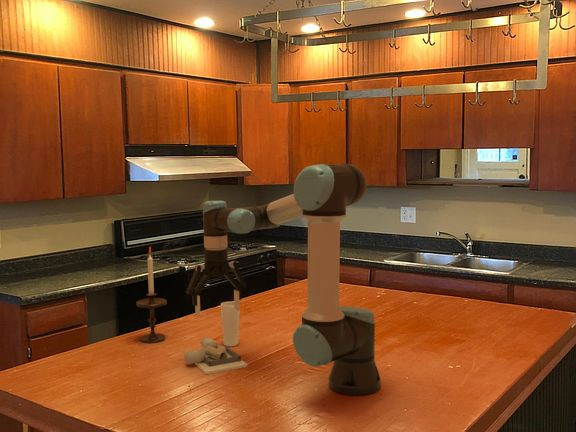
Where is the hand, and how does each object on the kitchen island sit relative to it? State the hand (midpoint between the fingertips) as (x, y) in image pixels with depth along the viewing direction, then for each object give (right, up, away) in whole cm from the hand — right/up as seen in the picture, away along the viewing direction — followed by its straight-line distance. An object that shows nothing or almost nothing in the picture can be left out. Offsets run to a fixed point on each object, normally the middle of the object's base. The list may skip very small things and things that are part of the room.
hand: (217, 312), depth 198 cm
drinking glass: (+3, -15, +19) cm, 24 cm away
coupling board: (-3, -16, +1) cm, 17 cm away
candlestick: (-27, -14, +26) cm, 40 cm away
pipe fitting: (+1, -16, +2) cm, 16 cm away
